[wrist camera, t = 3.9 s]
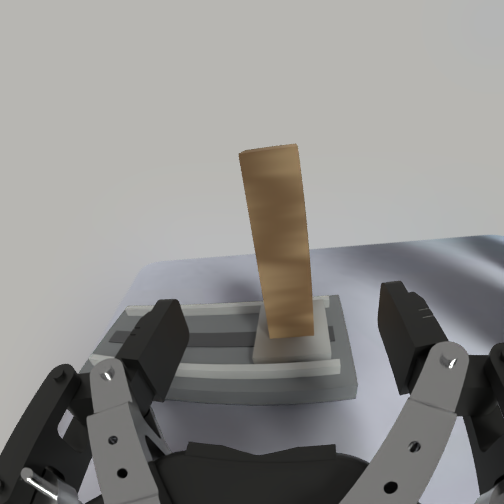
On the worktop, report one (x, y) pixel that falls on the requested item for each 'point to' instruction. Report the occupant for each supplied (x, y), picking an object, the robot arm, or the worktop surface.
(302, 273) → the fader tab
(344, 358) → the grey slider track base
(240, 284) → the worktop surface
